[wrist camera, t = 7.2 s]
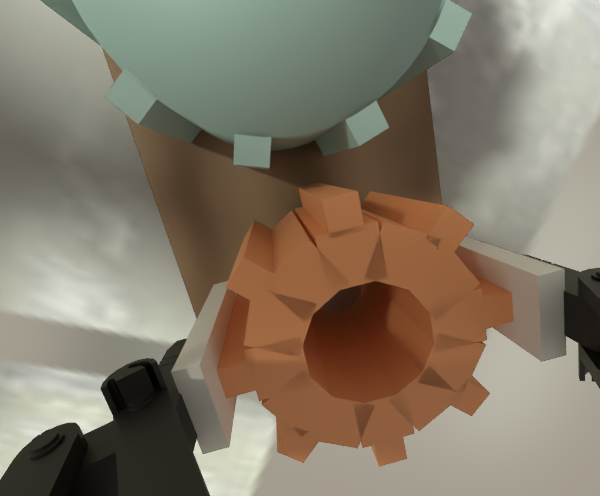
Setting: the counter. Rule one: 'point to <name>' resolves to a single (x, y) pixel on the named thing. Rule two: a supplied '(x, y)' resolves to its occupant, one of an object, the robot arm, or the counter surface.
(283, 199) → the board
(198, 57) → the gear
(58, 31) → the counter surface
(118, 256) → the counter surface
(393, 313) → the gear
